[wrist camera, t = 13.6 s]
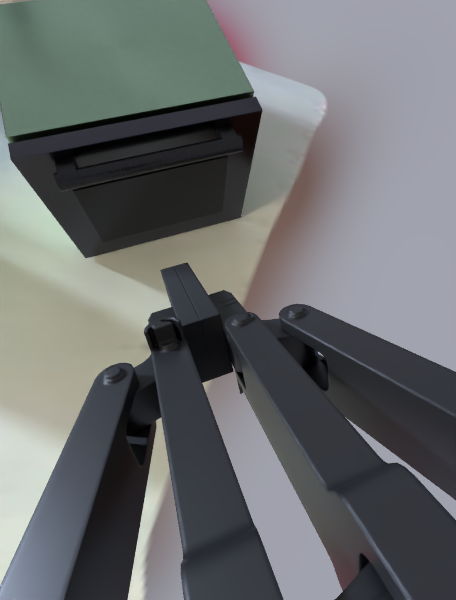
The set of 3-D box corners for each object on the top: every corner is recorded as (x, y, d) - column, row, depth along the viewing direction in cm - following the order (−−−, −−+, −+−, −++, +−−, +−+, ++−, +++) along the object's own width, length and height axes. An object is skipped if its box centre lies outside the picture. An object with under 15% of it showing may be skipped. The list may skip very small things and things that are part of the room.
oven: (235, 206, 42) (254, 90, 27) (82, 246, 38) (5, 137, 23) (198, 120, 47) (196, -19, 32) (59, 148, 43) (-17, 5, 28)
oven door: (246, 231, 41) (272, 128, 26) (89, 274, 37) (14, 183, 22) (236, 207, 42) (255, 96, 27) (82, 247, 38) (7, 143, 23)
